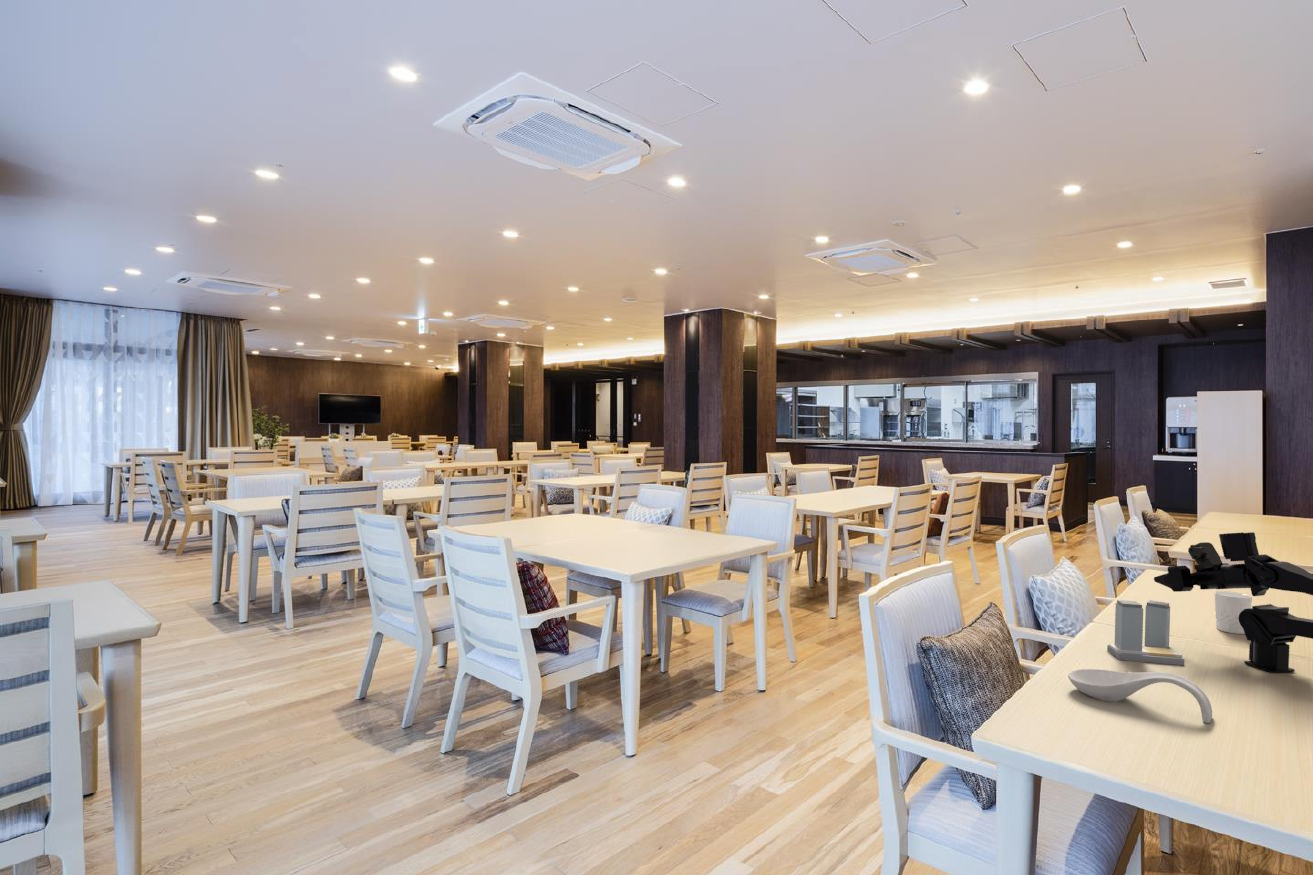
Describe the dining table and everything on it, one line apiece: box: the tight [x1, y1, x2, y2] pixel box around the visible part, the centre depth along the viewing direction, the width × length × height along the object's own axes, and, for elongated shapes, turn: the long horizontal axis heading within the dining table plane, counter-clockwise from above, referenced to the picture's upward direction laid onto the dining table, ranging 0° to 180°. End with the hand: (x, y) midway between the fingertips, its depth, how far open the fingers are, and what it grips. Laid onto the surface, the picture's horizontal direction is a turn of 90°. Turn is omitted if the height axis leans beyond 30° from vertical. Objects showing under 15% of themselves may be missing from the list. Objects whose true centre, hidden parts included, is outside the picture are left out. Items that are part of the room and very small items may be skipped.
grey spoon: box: [1067, 668, 1213, 724], centre depth 139 cm, size 24×12×7 cm, turn 47°
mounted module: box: [1114, 599, 1144, 651], centre depth 168 cm, size 4×4×11 cm
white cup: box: [1214, 590, 1253, 635], centre depth 192 cm, size 8×8×10 cm
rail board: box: [1106, 643, 1185, 666], centre depth 167 cm, size 14×7×2 cm, turn 76°
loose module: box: [1144, 599, 1171, 649], centre depth 177 cm, size 4×4×11 cm
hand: (1167, 578), depth 183 cm, fingers open, 9 cm apart
